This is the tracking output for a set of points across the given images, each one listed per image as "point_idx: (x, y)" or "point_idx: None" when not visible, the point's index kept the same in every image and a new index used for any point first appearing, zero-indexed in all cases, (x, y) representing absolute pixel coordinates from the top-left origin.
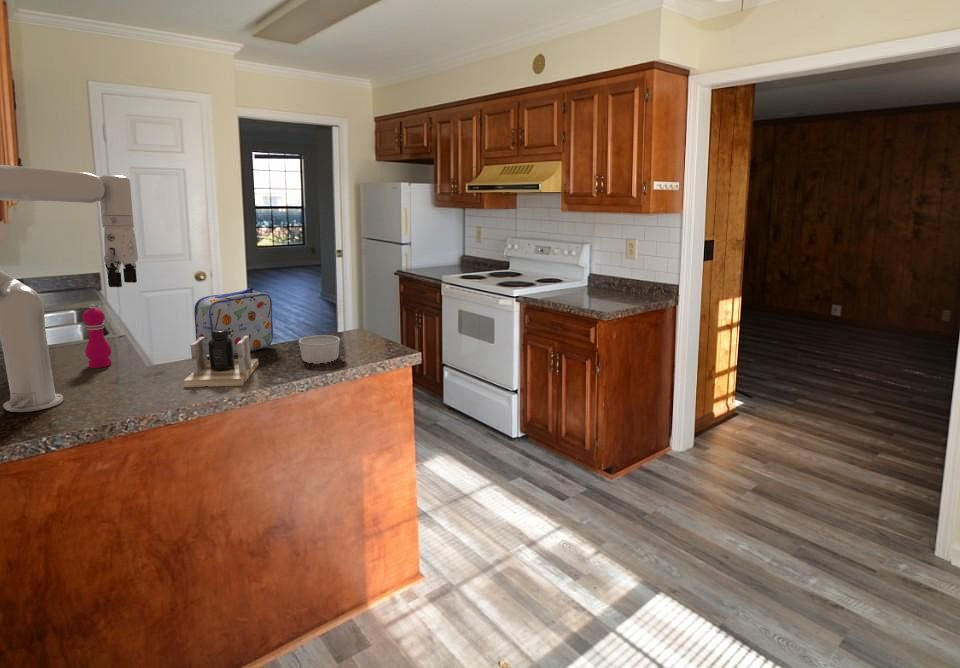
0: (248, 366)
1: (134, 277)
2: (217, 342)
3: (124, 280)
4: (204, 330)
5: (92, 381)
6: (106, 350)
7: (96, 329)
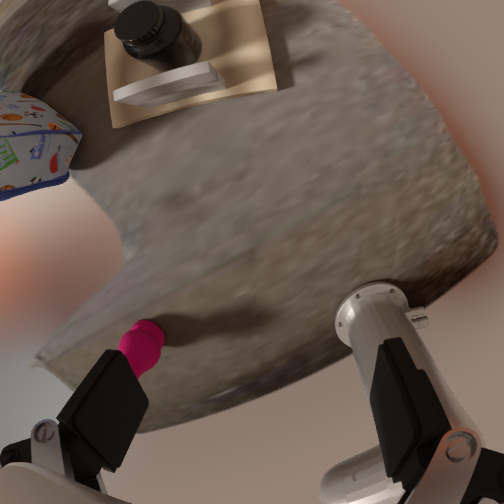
0: None
1: (108, 377)
2: (177, 19)
3: (146, 409)
4: (45, 154)
5: (241, 301)
6: (139, 337)
7: None
